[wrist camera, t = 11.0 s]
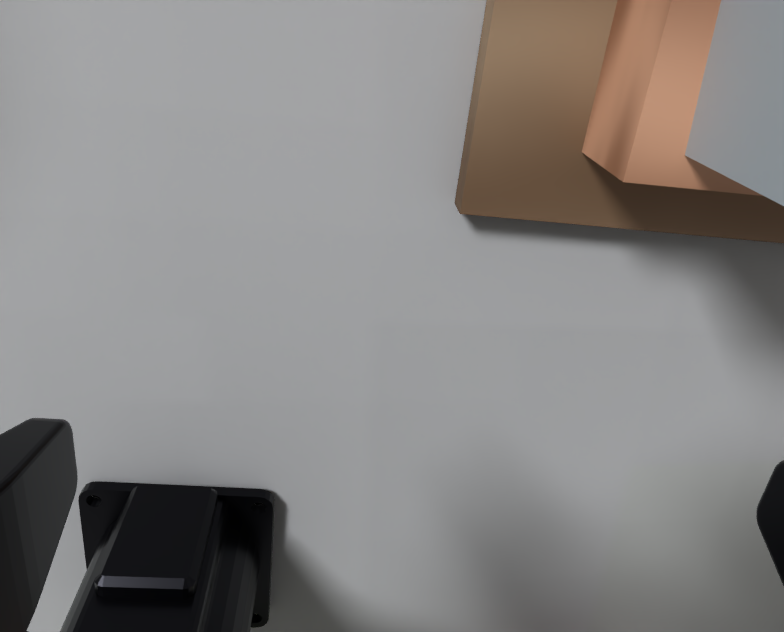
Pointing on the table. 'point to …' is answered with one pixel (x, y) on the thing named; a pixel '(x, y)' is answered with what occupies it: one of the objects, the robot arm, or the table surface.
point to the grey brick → (744, 98)
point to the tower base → (549, 134)
